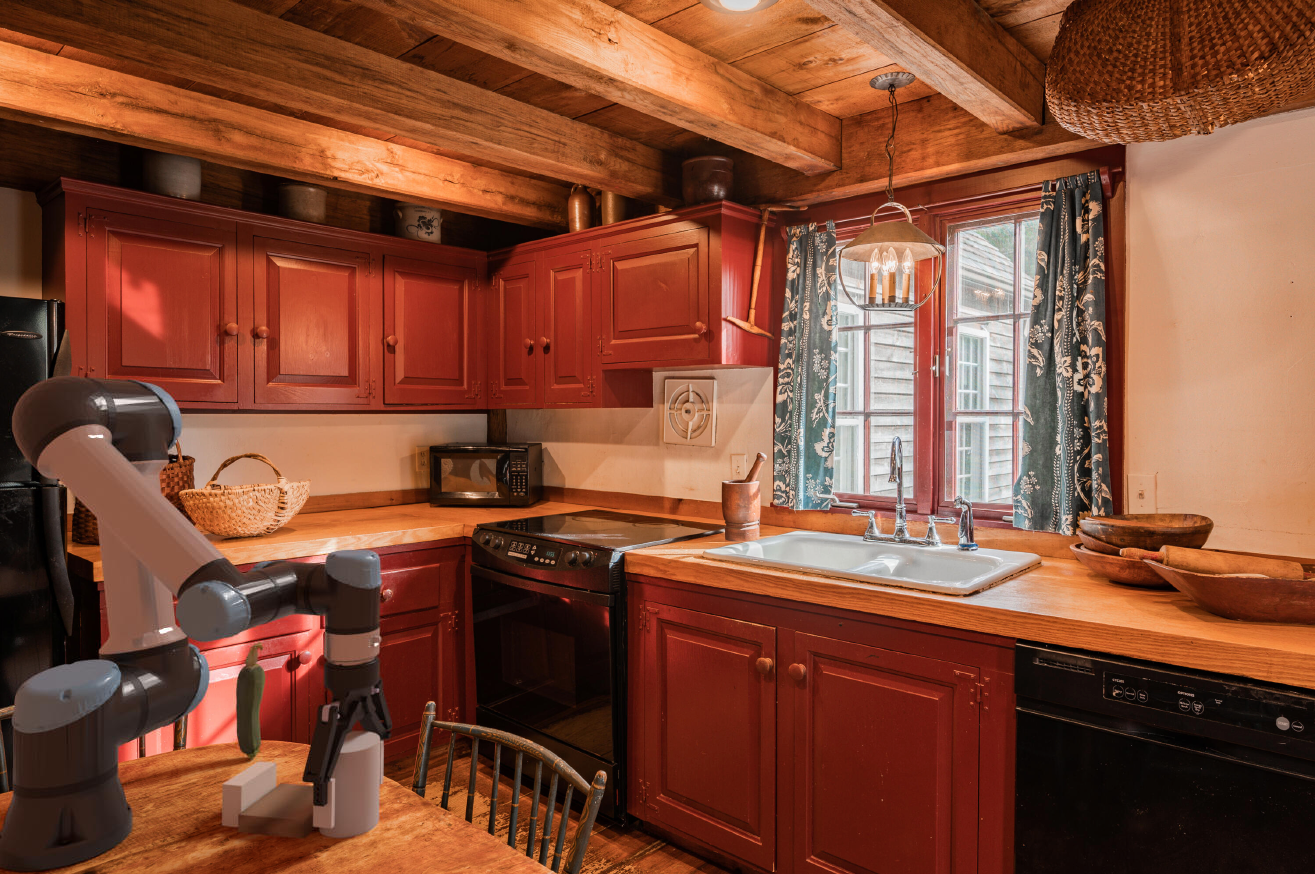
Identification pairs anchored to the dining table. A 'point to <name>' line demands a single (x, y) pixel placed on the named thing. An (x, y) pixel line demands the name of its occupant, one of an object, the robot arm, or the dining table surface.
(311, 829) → the board
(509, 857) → the dining table surface
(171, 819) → the dining table surface
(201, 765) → the dining table surface
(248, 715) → the vegetable
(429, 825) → the dining table surface
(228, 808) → the block
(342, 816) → the grey cylinder
